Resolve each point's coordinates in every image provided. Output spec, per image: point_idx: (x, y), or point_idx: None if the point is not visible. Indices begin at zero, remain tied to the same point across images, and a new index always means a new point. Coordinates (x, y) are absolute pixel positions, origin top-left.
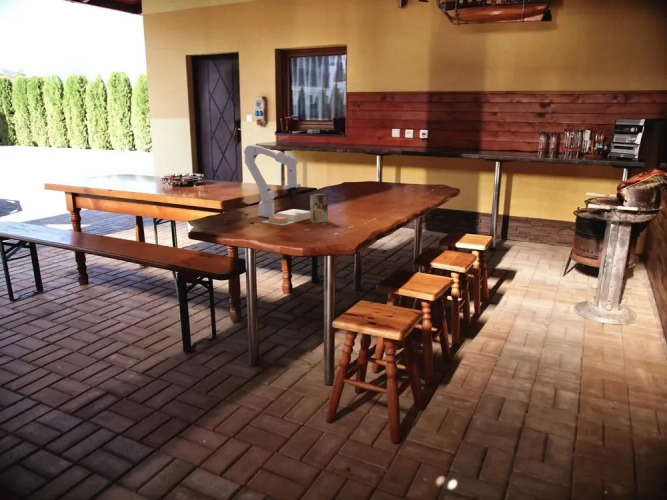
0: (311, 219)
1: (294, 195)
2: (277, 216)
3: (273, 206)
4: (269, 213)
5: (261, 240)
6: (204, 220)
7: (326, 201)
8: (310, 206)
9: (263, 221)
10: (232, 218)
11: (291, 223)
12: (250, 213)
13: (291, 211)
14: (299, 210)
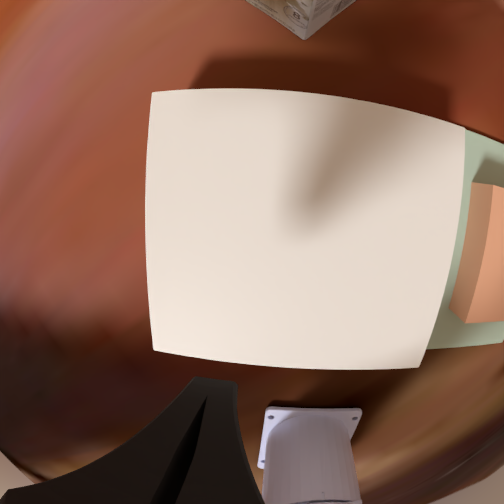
0: (336, 8)
1: (178, 439)
2: (481, 295)
3: (307, 469)
4: (342, 433)
5: None
6: (470, 481)
7: None
8: None
9: (498, 336)
10: (428, 474)
11: (477, 135)
12: None
13: (292, 294)
14: (179, 251)
